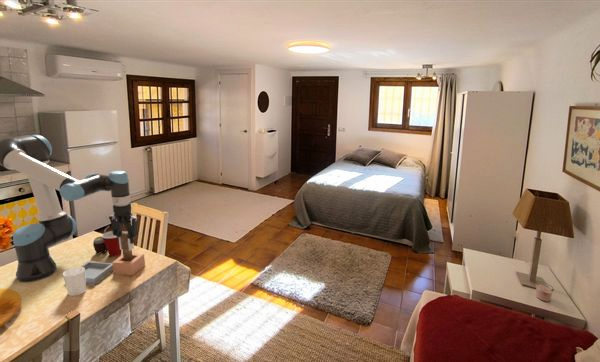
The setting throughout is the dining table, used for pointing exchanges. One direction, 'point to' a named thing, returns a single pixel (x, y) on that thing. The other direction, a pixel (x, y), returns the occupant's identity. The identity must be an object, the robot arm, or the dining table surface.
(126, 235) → the walnut dowel
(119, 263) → the terracotta block
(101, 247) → the mate gourd
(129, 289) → the dining table surface
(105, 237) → the plastic cup
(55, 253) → the dining table surface
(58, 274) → the dining table surface
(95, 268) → the grey tray
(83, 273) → the white cup
